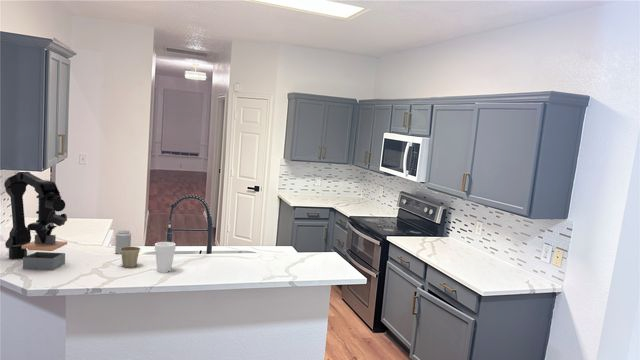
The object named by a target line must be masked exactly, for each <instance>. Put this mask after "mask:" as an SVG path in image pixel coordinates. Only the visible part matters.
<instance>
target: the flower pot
mask: <svg viewBox="0 0 640 360" xmlns="http://www.w3.org/2000/svg"><path fill="white" fill-rule="evenodd" d="M120 251H121V254H120V255H121V263H122V267H124V268H127V267H129V268H133V267H136V266H137V264H138V258H139V253H140V251H141V247H139V246H131V247H122V248H120Z"/></svg>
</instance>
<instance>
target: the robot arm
mask: <svg viewBox="0 0 640 360" xmlns="http://www.w3.org/2000/svg"><path fill="white" fill-rule="evenodd" d="M28 186H31V187H32V188H34V191H35V192H36V193H37V194H38V195H36V196H35V197H36V199H38V209H37V210H36V211H35V213H36V214H37V216H38V217H37V219H36V221H35V222H30V223H29V224H28V225H27V226H26V220H25V208H24V207H25V206H24V195H25V193H26V191H27V187H28ZM4 188H5V193H7V195H8V196H9V197H10V205H11V206H10V207H11V208H10V209H11V219H12V228H11V230H10V232H9V237H8V239H7V240H6V241H5V245H4V246H5V248H7V249H8V259H10V260H23V257H26V256H28V249H22V248H21V247H22V245H25V244H28V243H30V242H32V235H31V231H34V232H35V233H36V235H38V237H39V238H40V240H41V242H42V243H45V240H46V235H52V232H53V230H54V229H55V228H57V226H58V227H62V226H64V225H65V223H66V222H67V221H68V217H67V214H66V213H61V214H56V212H61V211H64V210H65V208H66V202H65V200H64V199H63V198H62V196H61V194H60V193H61V192H60V190H59V189H58V187H57V184H56V183H55V182H54V180H49V179H48V180H47V179H45V180H44V179H42V178H40V177H38V176H36V175H34V174H32V173H31V172H30V171H19V172H17V173H16V174H14V175H11V176H9V177H8V178H7V179H6V180H5V181H4Z"/></svg>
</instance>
